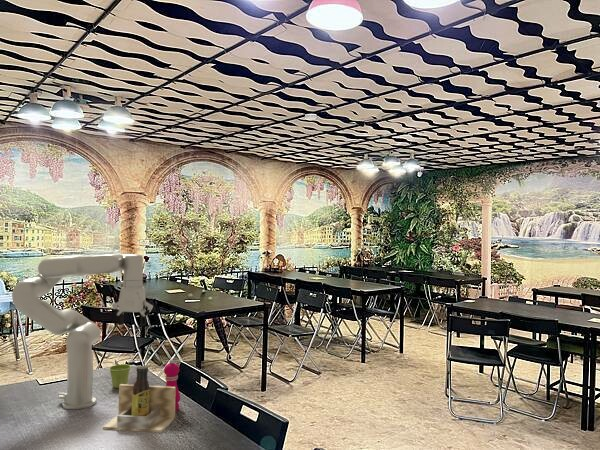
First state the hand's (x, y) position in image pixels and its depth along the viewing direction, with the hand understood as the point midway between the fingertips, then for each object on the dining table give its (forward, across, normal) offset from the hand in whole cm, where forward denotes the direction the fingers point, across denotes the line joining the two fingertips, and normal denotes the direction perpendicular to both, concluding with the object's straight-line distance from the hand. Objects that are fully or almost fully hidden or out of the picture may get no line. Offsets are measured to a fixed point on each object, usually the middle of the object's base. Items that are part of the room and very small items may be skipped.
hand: (132, 325), depth 194 cm
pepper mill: (+32, +19, -4) cm, 38 cm away
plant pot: (+32, -15, +20) cm, 41 cm away
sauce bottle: (+32, +13, -19) cm, 39 cm away
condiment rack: (+32, +13, -19) cm, 40 cm away
